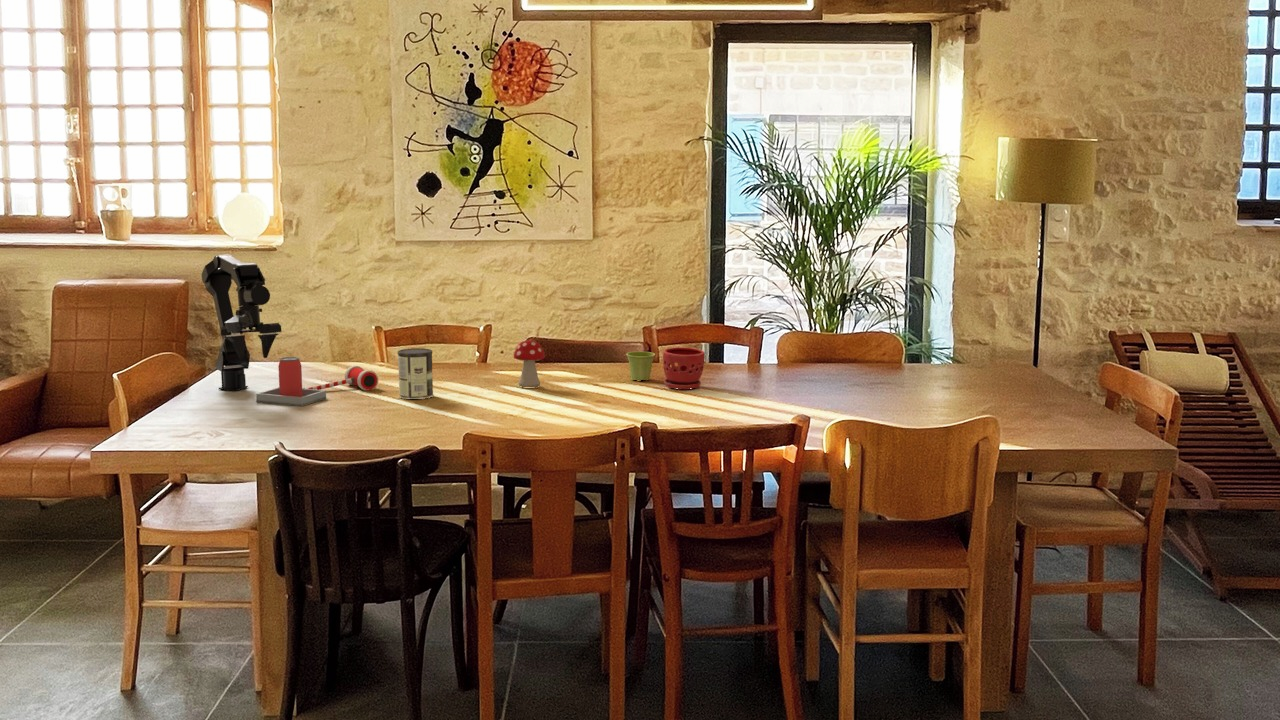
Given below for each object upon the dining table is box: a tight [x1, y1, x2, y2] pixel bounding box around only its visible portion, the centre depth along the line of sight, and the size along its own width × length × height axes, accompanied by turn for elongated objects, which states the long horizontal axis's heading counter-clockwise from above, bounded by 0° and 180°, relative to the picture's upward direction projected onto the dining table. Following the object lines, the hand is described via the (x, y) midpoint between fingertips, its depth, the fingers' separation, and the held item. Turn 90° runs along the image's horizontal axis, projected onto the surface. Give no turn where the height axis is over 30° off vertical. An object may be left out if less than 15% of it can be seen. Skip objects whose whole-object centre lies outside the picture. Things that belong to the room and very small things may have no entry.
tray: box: [255, 386, 327, 407], centre depth 379 cm, size 16×12×2 cm
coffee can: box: [397, 347, 434, 400], centre depth 385 cm, size 10×10×14 cm
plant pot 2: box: [662, 346, 706, 389], centre depth 403 cm, size 13×13×12 cm
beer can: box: [277, 356, 303, 397], centre depth 378 cm, size 7×7×12 cm
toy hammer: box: [302, 365, 379, 391], centre depth 396 cm, size 23×12×6 cm, turn 126°
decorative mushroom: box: [513, 339, 546, 387], centre depth 401 cm, size 10×9×15 cm
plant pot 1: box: [625, 351, 656, 382], centre depth 416 cm, size 9×9×9 cm
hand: (253, 358), depth 380 cm, fingers open, 9 cm apart
